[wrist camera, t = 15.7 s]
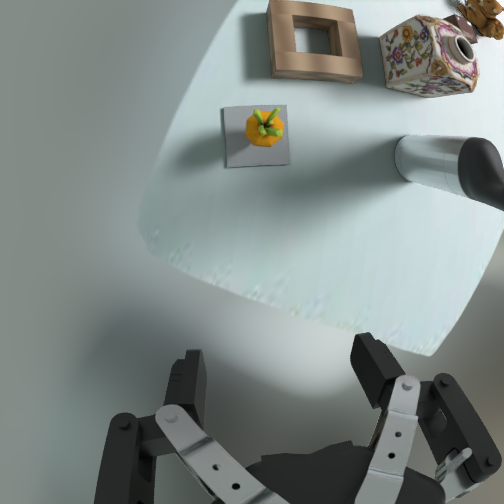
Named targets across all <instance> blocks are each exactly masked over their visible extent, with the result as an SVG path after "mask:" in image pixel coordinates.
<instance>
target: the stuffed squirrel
mask: <svg viewBox="0 0 504 504" xmlns="http://www.w3.org/2000/svg"><path fill="white" fill-rule="evenodd" d="M467 3H468V5H467V6H466V8H465V7H464V6H462V5H458V8H459V10H460V11H461V12H462V14H463V15H464V16H465V18H466V19H467V20H468V21H470V22H471V23H472V24H474V25H476V27H477V29H478V30H479V32H480V33H481V34H482V35H484V36H485V37H489V38H491V37H494V38H495V39H496V40H501V39H502V38H503V34H504V27H503V25H502V23H501V22H500V21H499V20H497V19H496V18H495V17H496V15H498V14H500V13H501V12H502V11H504V8H503V7H502V6H501V5H500V4H499V3H498V2H497V1H496V0H468V1H467Z"/></svg>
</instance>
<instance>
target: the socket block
mask: <svg viewBox="0 0 504 504" xmlns="http://www.w3.org/2000/svg"><path fill="white" fill-rule="evenodd" d="M266 14H267V25H268V36H269V48H270V60H271V74H272V78H291V79H311V80H324V81H334V82H343V83H353V82H355V81H357V80H359V79H361V78H363V71H362V63H361V56H360V49H359V43H358V37H357V31H356V26H355V21H354V16H353V11H352V10H351V9H347V8H342V7H336V6H330V5H324V4H317V3H310V2H300V1H289V0H269V4H268V8H267V12H266ZM294 27H298V28H309V29H318V30H326V31H328V36H329V43H330V50H331V55H324V54H314V53H302V52H296V44H295V35H294Z"/></svg>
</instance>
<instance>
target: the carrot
mask: <svg viewBox="0 0 504 504" xmlns="http://www.w3.org/2000/svg"><path fill="white" fill-rule="evenodd" d="M280 110H281V109H280V108H275V109H274V110H273V111H272V112H269V111H260V110H258V109H254V110H253V115H252V116H251V117H249V118H248V119H247V120H246V130H245V136H246V138H247V139H248V140H249V141H250V142H251V143H252V144H253V146H259V147H271V146H273V145H274V144H275V143H277V142H278V141H279V140H281V139H282V137H283V127H284V123H283V122H282V121H281V120H280V118H279V117H278V116H277V114H278V113H279V112H280Z"/></svg>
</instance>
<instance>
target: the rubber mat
mask: <svg viewBox="0 0 504 504" xmlns="http://www.w3.org/2000/svg"><path fill="white" fill-rule="evenodd" d="M275 108H280V109H281V110H280V112H279V113H278V114H277V116H278V117H279V118H280V120H281V121H282V122H283V123H284V127H283V137H282V139H281V140H279V141H278V142H277V143H275V144H274V145H273V146H271V147H259V146H253V144H252V143H251V142H250V141H249V140H248V139H247V138H246V136H245V130H246V120H247V119H248V118H249V117H251V116H252V115H253V110H254V109H258V110H260V111H269V112H272V111H273V110H274V109H275ZM224 123H225V139H226V155H227V167H241V166H259V165H285V164H289V142H288V122H287V105H255V106H235V107H224Z"/></svg>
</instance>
